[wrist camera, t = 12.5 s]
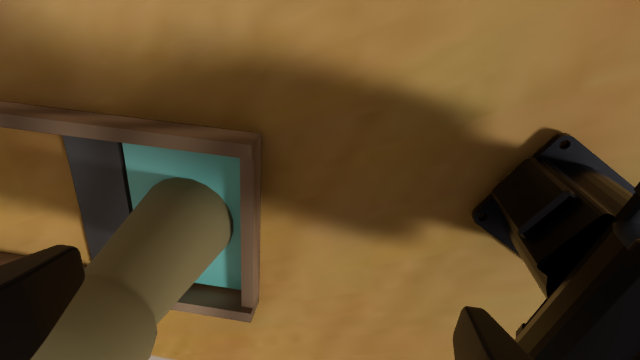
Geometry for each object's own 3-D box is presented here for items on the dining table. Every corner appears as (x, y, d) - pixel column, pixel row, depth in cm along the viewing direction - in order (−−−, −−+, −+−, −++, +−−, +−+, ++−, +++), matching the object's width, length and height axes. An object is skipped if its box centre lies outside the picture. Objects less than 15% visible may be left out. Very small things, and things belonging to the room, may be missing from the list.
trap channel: (261, 133, 21) (251, 145, 19) (258, 301, 26) (250, 322, 24) (-154, 81, 23) (-199, 88, 21) (-74, 248, 28) (-104, 264, 26)
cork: (249, 209, 22) (156, 367, 13) (212, 271, 25) (109, 442, 15) (161, 159, 22) (-12, 285, 12) (131, 228, 24) (-31, 379, 14)
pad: (244, 150, 21) (242, 153, 21) (245, 286, 26) (243, 290, 25) (125, 135, 22) (121, 137, 21) (146, 271, 26) (143, 274, 26)
